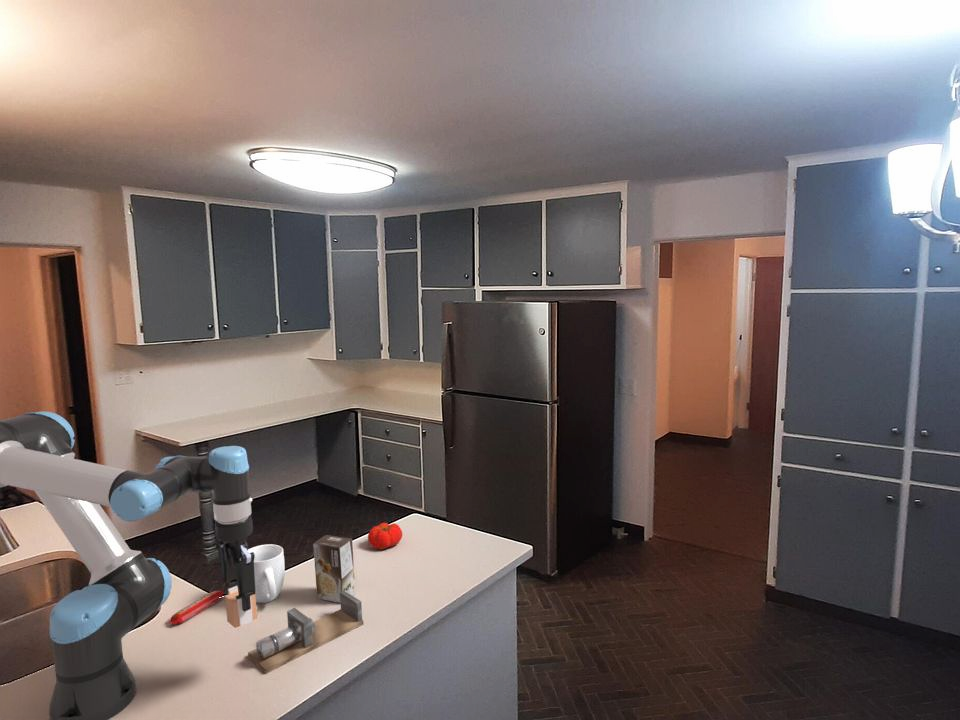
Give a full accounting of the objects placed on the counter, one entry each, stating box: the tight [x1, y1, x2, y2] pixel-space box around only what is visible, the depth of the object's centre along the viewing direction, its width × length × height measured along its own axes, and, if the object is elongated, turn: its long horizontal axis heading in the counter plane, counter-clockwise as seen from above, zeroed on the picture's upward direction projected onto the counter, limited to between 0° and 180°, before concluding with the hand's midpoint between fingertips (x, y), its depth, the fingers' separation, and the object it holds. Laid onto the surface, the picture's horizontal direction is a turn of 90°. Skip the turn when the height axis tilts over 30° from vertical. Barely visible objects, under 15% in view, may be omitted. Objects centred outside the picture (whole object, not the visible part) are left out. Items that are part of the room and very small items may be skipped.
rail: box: [247, 591, 364, 674], centre depth 143 cm, size 26×9×7 cm, turn 136°
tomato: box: [367, 522, 403, 550], centre depth 195 cm, size 10×11×6 cm
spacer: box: [224, 591, 258, 629], centre depth 130 cm, size 5×4×6 cm
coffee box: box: [312, 534, 356, 603], centre depth 163 cm, size 9×6×16 cm
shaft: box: [255, 617, 316, 659], centre depth 139 cm, size 13×4×4 cm, turn 136°
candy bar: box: [168, 590, 225, 625], centre depth 157 cm, size 16×4×3 cm, turn 157°
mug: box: [248, 543, 286, 604], centre depth 161 cm, size 15×11×13 cm
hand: (241, 618), depth 131 cm, fingers closed on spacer, 4 cm apart
